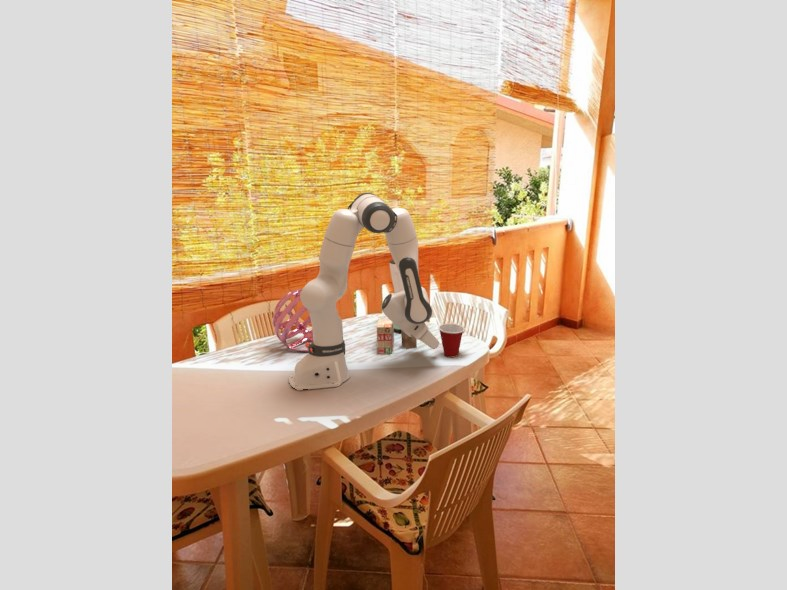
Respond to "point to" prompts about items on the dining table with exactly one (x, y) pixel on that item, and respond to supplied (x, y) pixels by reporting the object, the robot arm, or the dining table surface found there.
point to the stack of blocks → (385, 336)
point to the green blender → (396, 285)
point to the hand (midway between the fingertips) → (436, 345)
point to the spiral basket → (291, 321)
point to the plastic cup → (451, 338)
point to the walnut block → (408, 341)
